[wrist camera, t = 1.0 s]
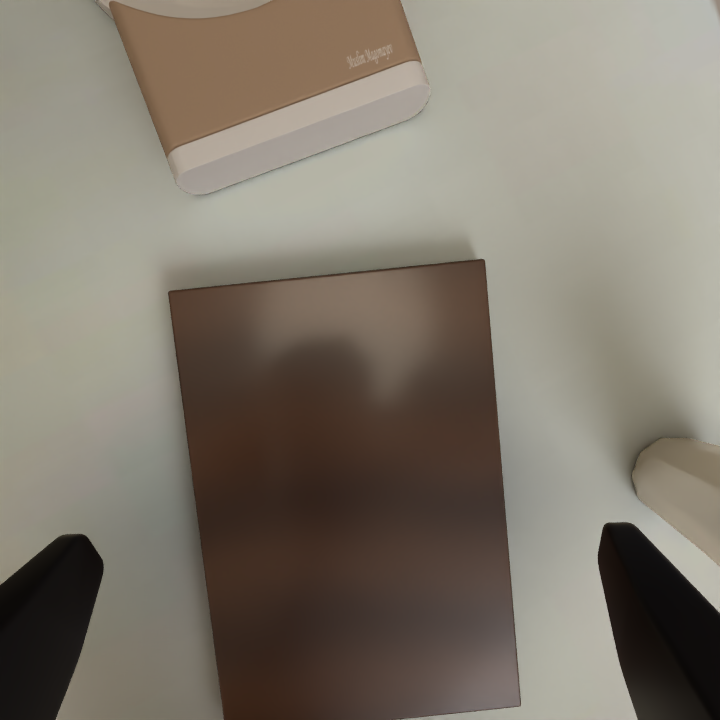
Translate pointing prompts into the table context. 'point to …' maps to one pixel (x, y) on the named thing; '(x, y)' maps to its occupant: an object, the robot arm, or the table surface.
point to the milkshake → (683, 488)
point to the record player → (267, 79)
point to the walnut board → (350, 493)
